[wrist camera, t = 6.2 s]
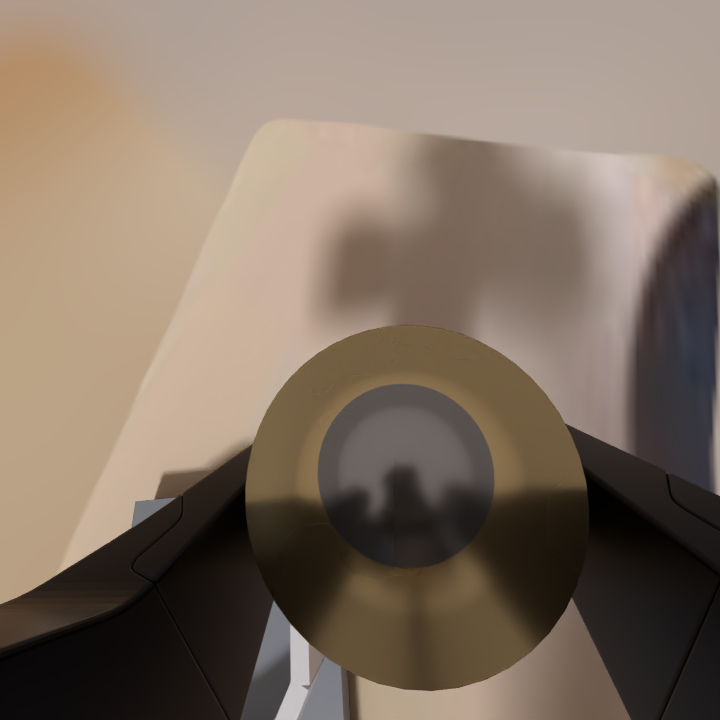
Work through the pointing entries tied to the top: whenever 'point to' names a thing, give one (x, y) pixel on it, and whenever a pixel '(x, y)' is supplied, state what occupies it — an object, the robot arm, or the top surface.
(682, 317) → the top surface
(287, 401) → the gold pepper grinder
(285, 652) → the board
